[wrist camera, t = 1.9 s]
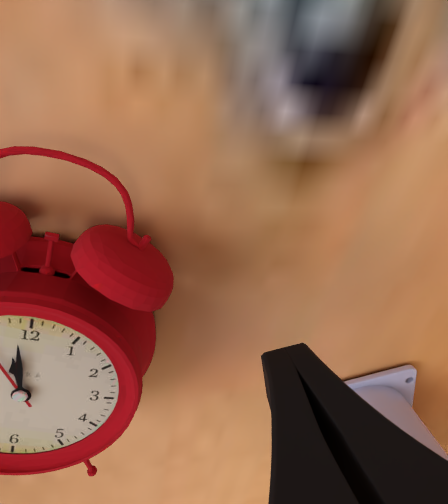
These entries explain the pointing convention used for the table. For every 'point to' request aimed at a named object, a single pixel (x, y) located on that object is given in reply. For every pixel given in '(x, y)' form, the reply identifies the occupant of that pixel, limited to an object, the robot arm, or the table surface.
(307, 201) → the table surface
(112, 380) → the alarm clock
